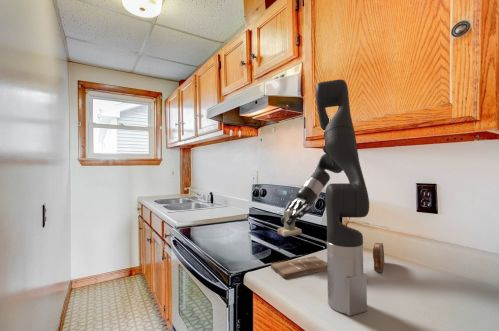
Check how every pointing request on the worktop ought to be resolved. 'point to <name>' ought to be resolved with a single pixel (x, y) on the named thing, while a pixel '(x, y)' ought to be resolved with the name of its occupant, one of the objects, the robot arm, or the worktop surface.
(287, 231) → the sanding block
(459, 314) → the worktop surface
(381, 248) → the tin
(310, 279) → the worktop surface
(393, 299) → the worktop surface
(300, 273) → the board
